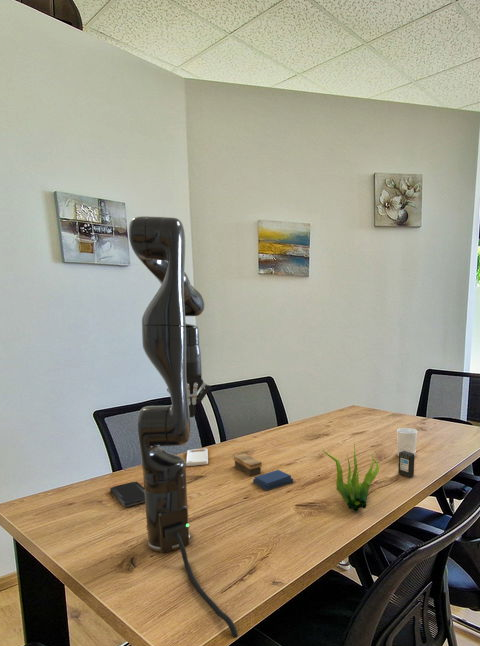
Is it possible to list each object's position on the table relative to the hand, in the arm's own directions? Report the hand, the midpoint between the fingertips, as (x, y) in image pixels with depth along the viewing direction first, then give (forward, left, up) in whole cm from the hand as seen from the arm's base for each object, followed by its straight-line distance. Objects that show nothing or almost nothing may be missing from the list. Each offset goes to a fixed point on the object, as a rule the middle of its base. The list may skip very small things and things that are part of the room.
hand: (190, 416), depth 131 cm
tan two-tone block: (+2, -20, -23) cm, 30 cm away
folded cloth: (-13, -21, -23) cm, 33 cm away
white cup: (-23, -74, -23) cm, 81 cm away
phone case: (+24, -11, -23) cm, 35 cm away
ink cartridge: (-36, -59, -23) cm, 72 cm away
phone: (+5, +17, -23) cm, 29 cm away
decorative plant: (-33, -35, -23) cm, 53 cm away
